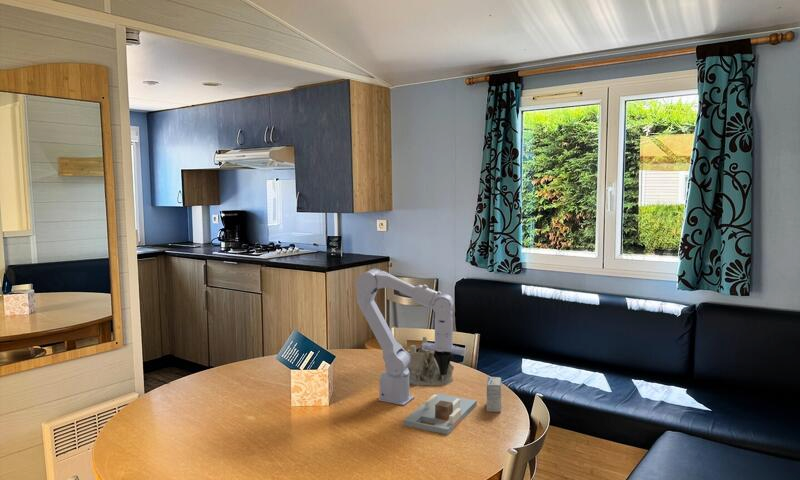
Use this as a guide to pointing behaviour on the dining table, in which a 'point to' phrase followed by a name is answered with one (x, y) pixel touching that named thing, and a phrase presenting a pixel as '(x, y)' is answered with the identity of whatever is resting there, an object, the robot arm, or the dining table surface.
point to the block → (443, 410)
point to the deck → (441, 426)
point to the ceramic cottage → (426, 368)
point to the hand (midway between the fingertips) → (443, 374)
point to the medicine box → (494, 394)
